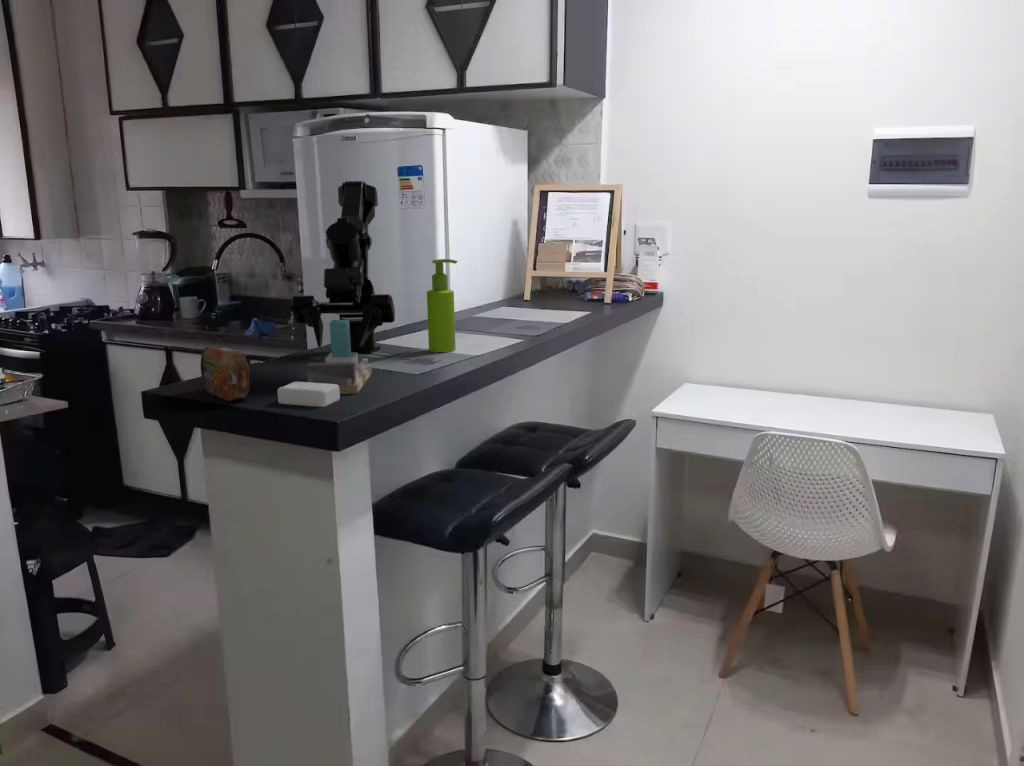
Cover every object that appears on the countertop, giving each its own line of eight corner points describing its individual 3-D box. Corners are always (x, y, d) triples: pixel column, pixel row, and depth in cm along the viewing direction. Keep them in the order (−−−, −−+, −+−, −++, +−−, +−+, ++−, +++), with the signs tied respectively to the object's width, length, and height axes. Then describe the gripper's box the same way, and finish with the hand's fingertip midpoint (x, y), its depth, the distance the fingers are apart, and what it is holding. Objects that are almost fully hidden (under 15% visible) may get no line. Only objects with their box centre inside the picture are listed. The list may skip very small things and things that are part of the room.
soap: (341, 400, 128) (340, 383, 127) (324, 409, 123) (322, 391, 122) (295, 397, 131) (294, 380, 130) (276, 405, 126) (275, 387, 125)
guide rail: (325, 372, 148) (324, 347, 146) (372, 372, 148) (370, 346, 147) (304, 394, 131) (302, 366, 130) (357, 393, 131) (355, 365, 130)
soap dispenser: (459, 352, 166) (456, 260, 161) (427, 352, 166) (424, 260, 161) (460, 347, 172) (458, 258, 167) (430, 347, 172) (426, 258, 167)
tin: (201, 390, 135) (196, 343, 133) (218, 387, 137) (213, 341, 136) (237, 405, 125) (232, 355, 123) (255, 402, 127) (250, 352, 125)
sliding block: (331, 368, 144) (328, 319, 142) (358, 368, 144) (355, 318, 142) (326, 374, 139) (322, 323, 137) (353, 373, 139) (350, 323, 137)
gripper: (288, 252, 140) (276, 320, 132) (389, 250, 140) (384, 318, 132) (302, 290, 150) (292, 356, 141) (397, 288, 150) (392, 354, 142)
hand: (339, 345), depth 139 cm, fingers open, 7 cm apart
